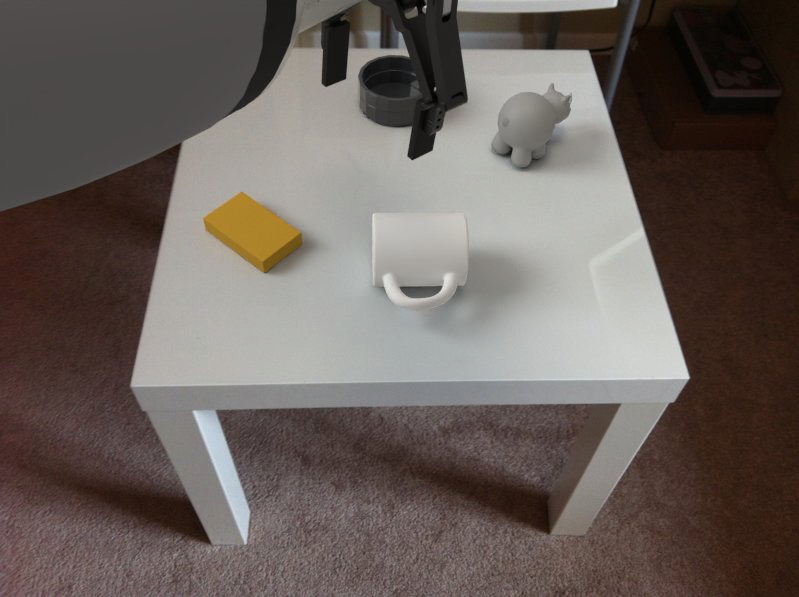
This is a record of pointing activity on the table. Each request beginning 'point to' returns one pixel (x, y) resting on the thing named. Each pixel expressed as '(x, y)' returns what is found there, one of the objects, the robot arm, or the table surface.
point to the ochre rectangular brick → (253, 231)
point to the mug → (419, 255)
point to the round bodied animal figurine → (529, 124)
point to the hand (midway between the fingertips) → (375, 116)
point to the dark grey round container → (388, 90)
